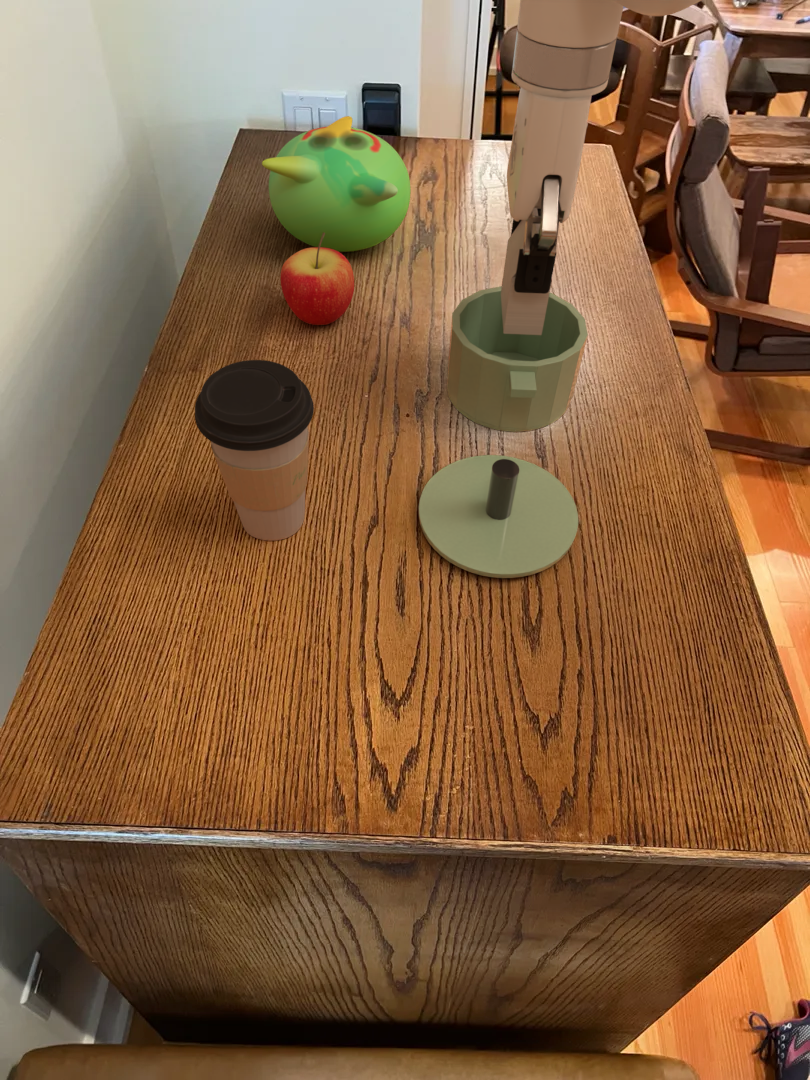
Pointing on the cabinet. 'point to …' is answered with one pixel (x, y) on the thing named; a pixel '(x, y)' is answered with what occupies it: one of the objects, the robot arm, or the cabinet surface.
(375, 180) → the toy bird
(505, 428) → the pot
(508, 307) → the tea bag
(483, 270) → the cabinet surface
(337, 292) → the apple
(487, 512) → the lid
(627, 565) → the cabinet surface
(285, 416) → the coffee cup
